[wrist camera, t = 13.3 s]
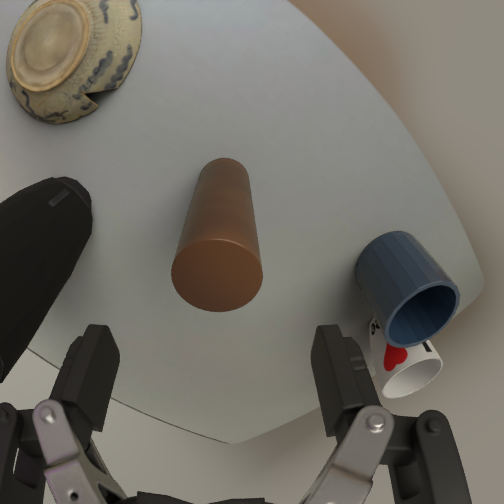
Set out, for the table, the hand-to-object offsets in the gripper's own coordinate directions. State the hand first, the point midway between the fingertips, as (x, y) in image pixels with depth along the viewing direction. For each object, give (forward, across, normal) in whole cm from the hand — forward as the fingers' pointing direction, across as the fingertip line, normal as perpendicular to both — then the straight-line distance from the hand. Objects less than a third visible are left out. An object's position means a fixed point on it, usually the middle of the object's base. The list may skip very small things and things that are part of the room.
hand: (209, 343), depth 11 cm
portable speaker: (+18, +17, +2) cm, 25 cm away
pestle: (+18, 0, 0) cm, 18 cm away
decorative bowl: (+18, +14, -14) cm, 27 cm away
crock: (+18, -18, +9) cm, 27 cm away
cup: (+18, -21, +19) cm, 34 cm away
